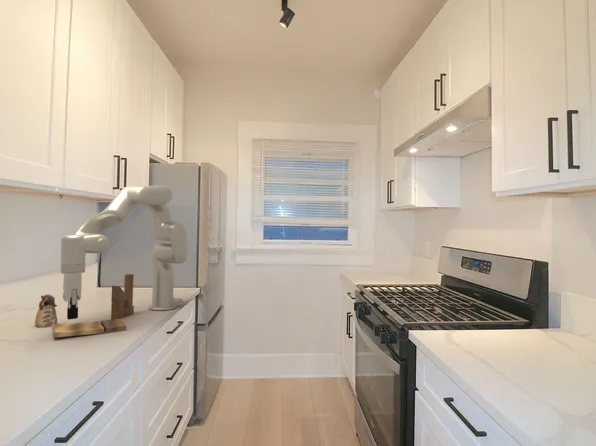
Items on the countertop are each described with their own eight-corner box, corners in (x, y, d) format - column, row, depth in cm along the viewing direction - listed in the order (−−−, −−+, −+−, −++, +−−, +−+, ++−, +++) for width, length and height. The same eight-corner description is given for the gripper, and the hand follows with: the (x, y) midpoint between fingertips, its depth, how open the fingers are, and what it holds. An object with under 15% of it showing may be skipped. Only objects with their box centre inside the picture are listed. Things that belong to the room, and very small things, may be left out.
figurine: (61, 323, 138) (62, 293, 138) (43, 328, 131) (44, 296, 131) (49, 321, 140) (50, 291, 141) (30, 326, 134) (31, 295, 134)
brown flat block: (119, 322, 142) (119, 318, 142) (126, 330, 132) (126, 325, 132) (100, 325, 138) (100, 320, 138) (105, 333, 128) (105, 328, 128)
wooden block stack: (110, 319, 147) (112, 276, 147) (126, 313, 157) (128, 273, 157) (118, 319, 146) (120, 277, 146) (134, 313, 157) (135, 273, 157)
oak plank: (98, 324, 137) (99, 321, 137) (103, 332, 128) (104, 328, 128) (52, 328, 128) (52, 324, 128) (54, 337, 119) (54, 333, 119)
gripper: (59, 266, 130) (58, 315, 131) (62, 272, 119) (61, 325, 119) (82, 265, 135) (82, 312, 135) (87, 270, 123) (87, 321, 123)
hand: (72, 318), depth 127 cm, fingers closed
